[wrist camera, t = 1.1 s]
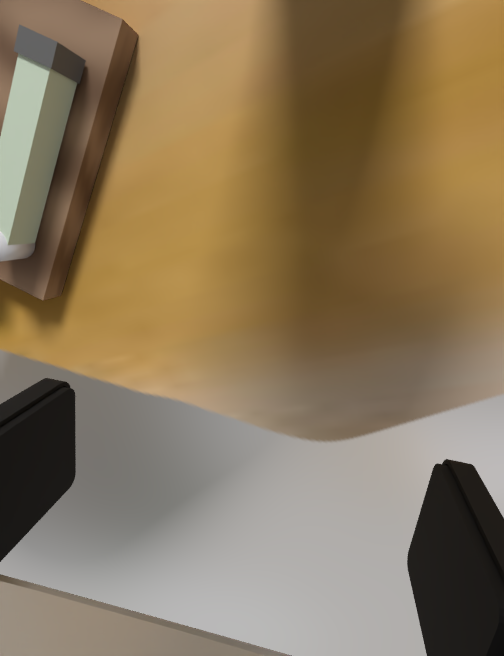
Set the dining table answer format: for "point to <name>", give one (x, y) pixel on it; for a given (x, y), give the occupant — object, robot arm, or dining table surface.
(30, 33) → the stool leg
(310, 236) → the dining table surface
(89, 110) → the stool seat
